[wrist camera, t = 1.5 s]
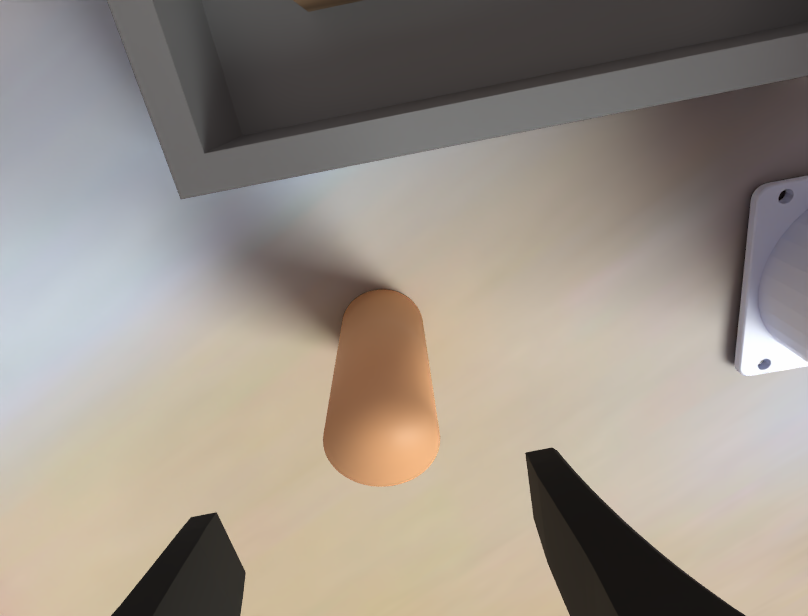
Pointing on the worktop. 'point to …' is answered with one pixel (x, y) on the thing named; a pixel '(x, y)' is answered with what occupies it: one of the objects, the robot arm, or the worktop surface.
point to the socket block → (321, 3)
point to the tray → (425, 73)
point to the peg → (381, 393)
